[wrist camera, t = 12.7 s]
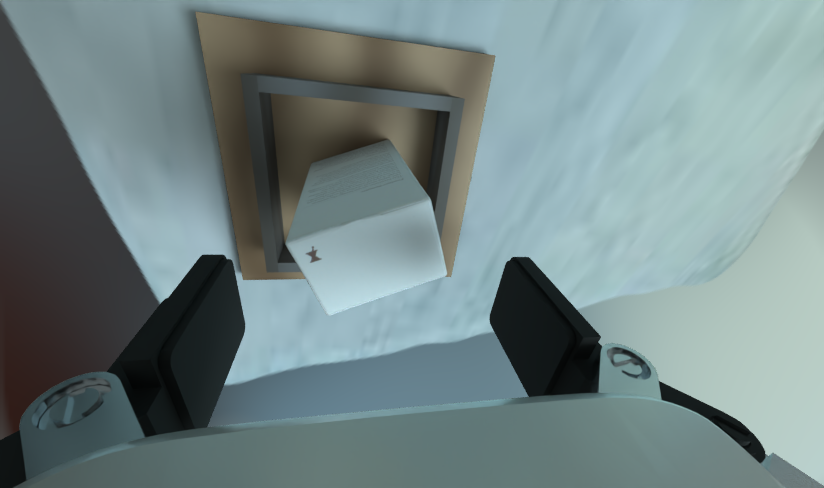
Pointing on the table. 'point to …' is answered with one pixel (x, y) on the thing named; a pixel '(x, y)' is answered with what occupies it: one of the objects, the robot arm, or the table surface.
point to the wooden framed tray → (334, 122)
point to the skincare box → (364, 229)
